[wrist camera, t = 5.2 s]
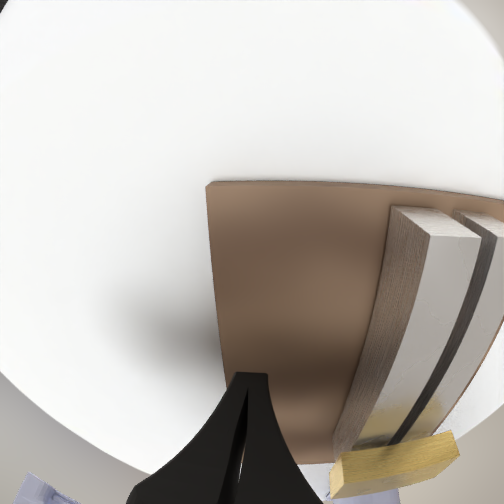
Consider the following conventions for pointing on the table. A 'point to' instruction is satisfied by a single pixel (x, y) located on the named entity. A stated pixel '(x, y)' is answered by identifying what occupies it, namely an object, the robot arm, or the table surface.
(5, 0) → the phone
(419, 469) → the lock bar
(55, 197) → the table surface
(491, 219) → the fixed tong arm
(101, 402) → the table surface
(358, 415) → the bar
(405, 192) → the walnut board
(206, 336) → the table surface
